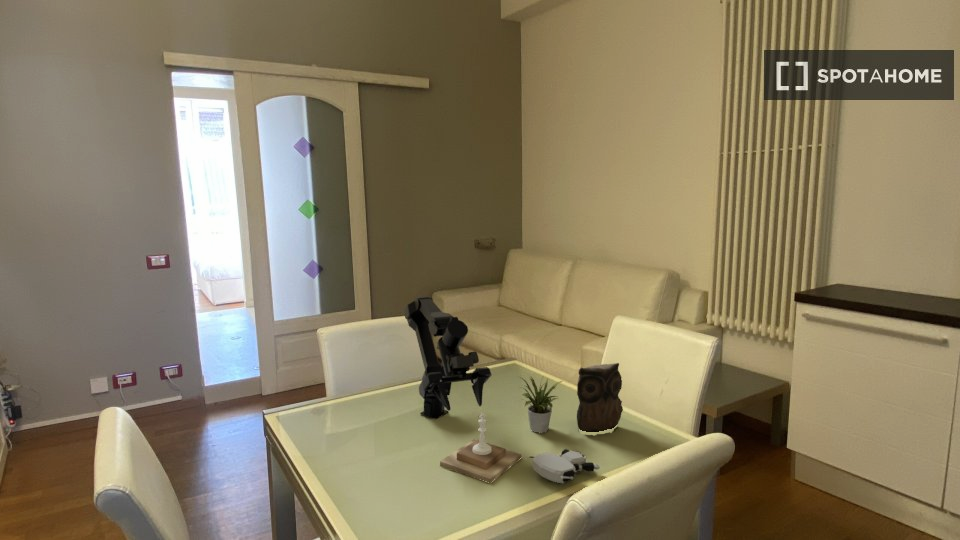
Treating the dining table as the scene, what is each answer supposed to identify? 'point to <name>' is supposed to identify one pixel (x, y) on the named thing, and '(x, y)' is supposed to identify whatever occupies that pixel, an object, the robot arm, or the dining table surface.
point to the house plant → (539, 406)
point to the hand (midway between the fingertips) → (465, 407)
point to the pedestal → (480, 461)
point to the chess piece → (482, 439)
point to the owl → (599, 397)
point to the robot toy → (561, 465)
